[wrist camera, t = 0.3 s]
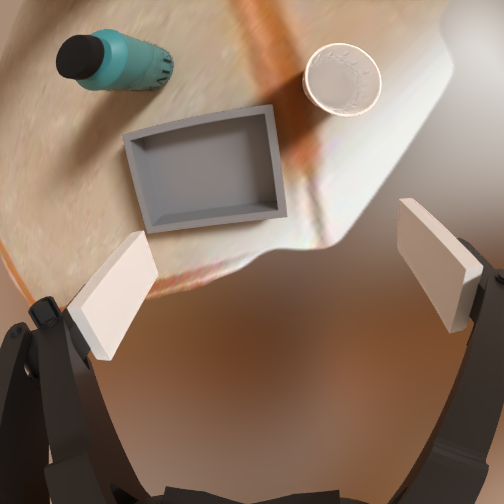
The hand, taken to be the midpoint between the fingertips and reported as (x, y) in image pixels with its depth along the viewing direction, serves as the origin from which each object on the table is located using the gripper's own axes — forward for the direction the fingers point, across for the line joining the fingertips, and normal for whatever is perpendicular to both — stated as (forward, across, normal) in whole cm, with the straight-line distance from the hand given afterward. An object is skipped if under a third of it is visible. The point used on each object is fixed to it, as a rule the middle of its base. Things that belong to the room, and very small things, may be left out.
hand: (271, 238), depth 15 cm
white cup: (+28, +8, +8) cm, 30 cm away
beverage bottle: (+28, -14, +14) cm, 34 cm away
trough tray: (+27, -9, -1) cm, 29 cm away
